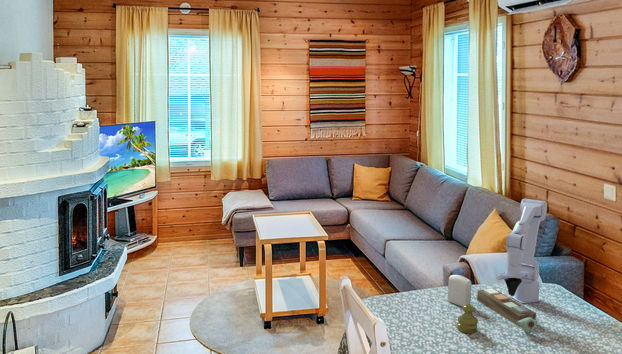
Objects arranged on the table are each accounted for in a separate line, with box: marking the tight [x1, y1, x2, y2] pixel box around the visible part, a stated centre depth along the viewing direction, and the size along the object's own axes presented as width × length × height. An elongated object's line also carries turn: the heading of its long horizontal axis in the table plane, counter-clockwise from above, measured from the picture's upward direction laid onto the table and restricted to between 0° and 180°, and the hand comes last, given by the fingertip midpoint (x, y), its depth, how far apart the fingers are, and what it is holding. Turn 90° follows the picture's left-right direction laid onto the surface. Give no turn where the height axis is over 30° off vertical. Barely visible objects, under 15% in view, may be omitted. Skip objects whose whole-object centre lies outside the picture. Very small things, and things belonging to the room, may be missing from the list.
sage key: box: [503, 302, 518, 307], centre depth 237 cm, size 4×4×2 cm
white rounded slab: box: [447, 274, 472, 307], centre depth 247 cm, size 10×4×12 cm, turn 39°
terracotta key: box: [493, 293, 510, 301], centre depth 243 cm, size 4×4×2 cm
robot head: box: [517, 317, 539, 335], centre depth 219 cm, size 8×4×7 cm, turn 96°
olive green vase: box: [456, 303, 479, 334], centre depth 222 cm, size 7×7×10 cm
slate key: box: [513, 305, 531, 314], centre depth 231 cm, size 4×4×2 cm
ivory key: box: [483, 288, 500, 295], centre depth 249 cm, size 4×4×2 cm
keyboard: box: [476, 288, 537, 327], centre depth 240 cm, size 8×28×4 cm, turn 19°
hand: (511, 295), depth 236 cm, fingers closed
